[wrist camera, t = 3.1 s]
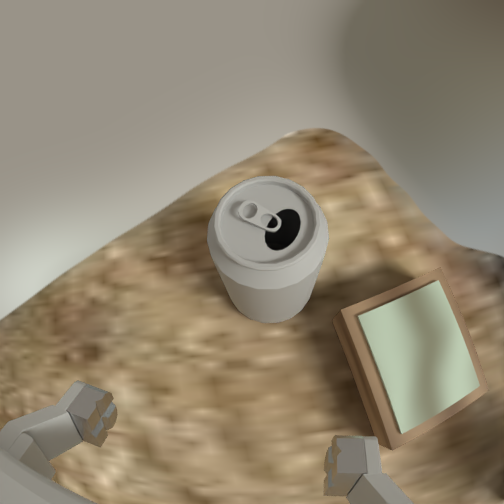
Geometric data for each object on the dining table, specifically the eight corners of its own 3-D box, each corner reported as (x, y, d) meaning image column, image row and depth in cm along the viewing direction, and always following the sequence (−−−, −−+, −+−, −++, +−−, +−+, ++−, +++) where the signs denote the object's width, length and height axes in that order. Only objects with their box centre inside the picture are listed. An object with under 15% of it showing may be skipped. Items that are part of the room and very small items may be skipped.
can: (289, 339, 27) (300, 303, 16) (214, 302, 29) (176, 244, 18) (324, 266, 29) (350, 192, 18) (252, 235, 31) (240, 150, 20)
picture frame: (376, 443, 22) (393, 450, 18) (331, 320, 27) (341, 308, 23) (465, 392, 23) (490, 390, 19) (422, 282, 28) (441, 265, 24)
